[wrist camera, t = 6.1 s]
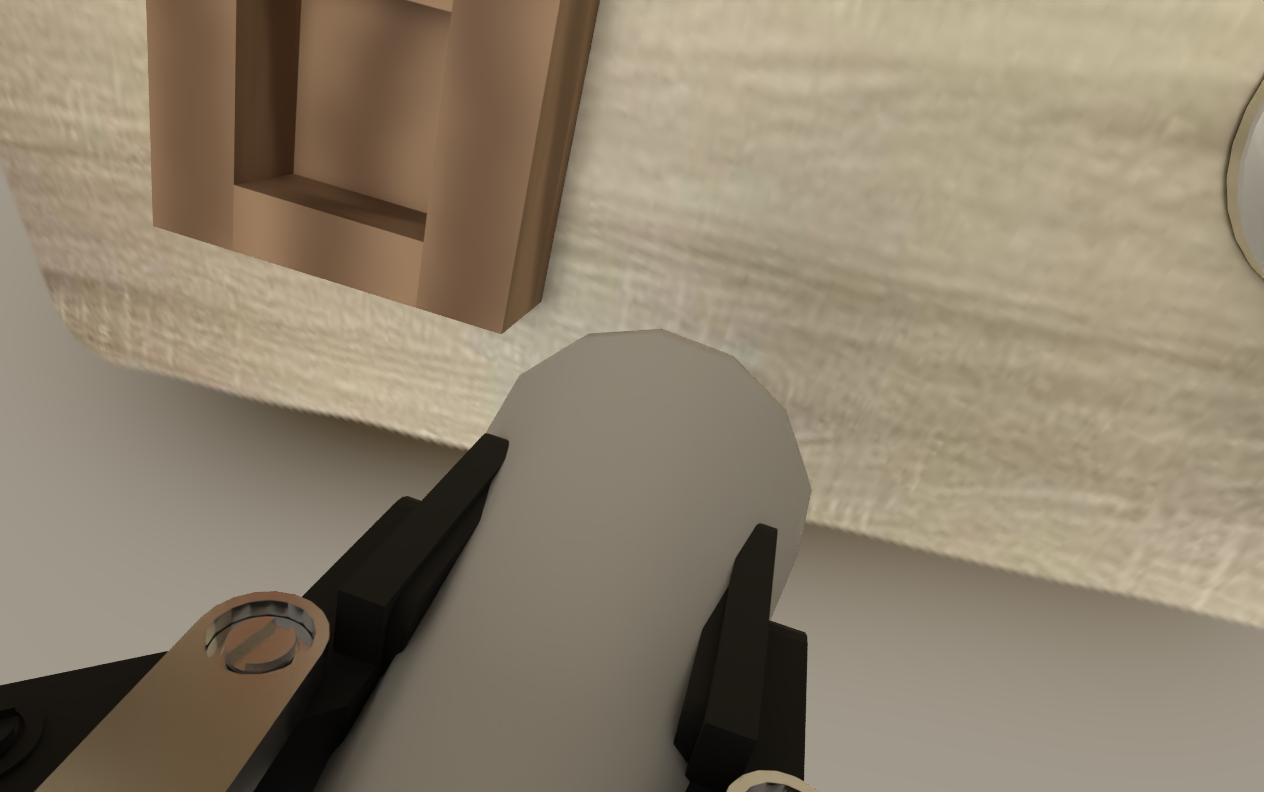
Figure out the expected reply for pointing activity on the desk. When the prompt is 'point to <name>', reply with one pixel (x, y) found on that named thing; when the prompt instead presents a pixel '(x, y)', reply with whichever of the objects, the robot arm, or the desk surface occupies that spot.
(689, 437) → the grey rounded peg
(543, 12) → the socket block
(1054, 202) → the desk surface
